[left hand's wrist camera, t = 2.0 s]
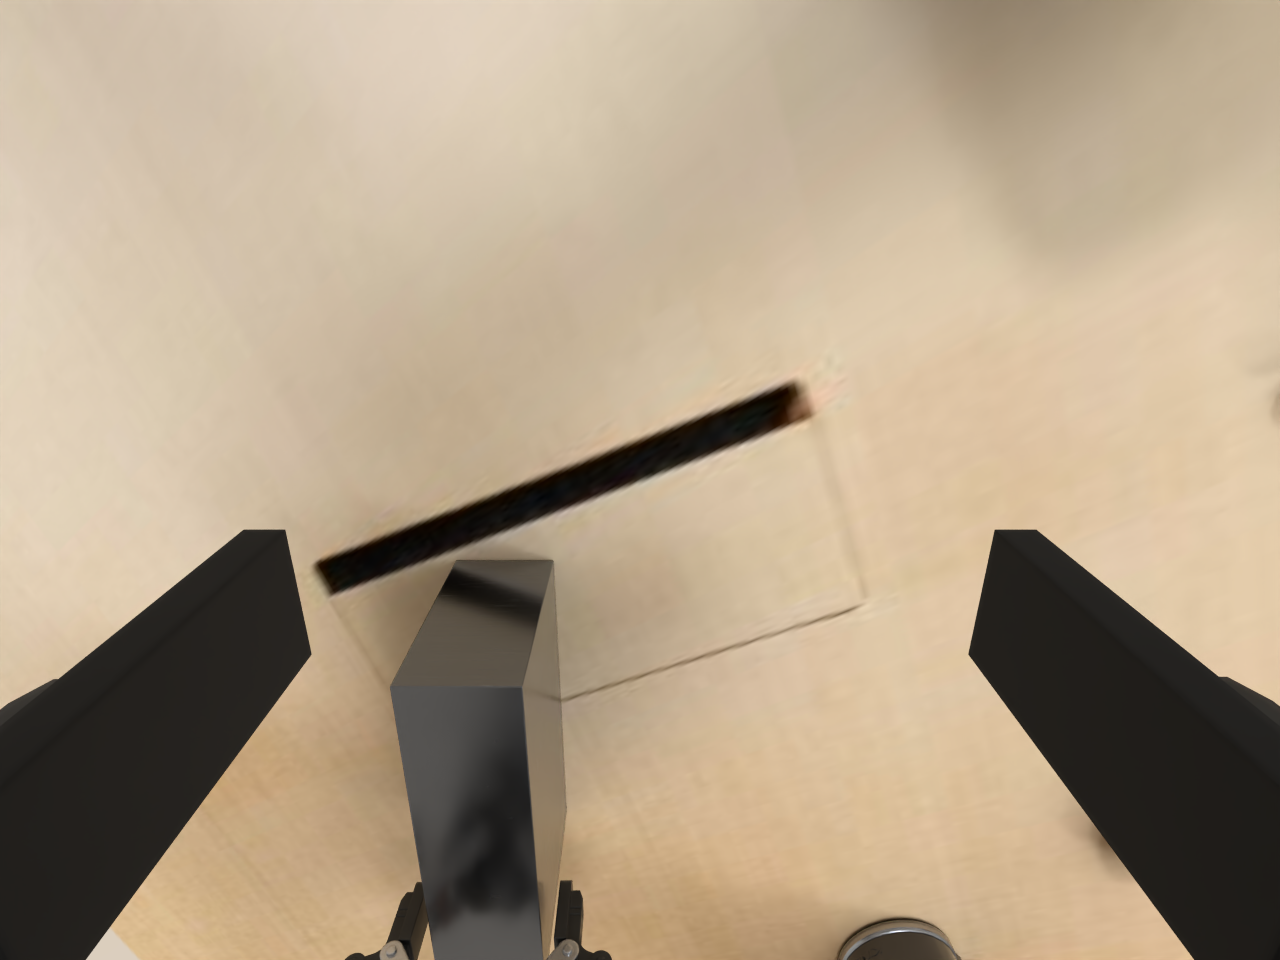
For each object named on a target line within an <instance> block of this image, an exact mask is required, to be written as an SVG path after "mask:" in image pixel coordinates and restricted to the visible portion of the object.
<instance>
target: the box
mask: <svg viewBox="0 0 1280 960" xmlns="http://www.w3.org/2000/svg"><path fill="white" fill-rule="evenodd" d="M390 690H391V696H392V702H393V708H394V714H395V720H396V726H397V733H398V739H399V745H400V751H401V757H402V763H403V769H404V775H405V781H406V788H407V794H408V800H409V806H410V812H411V818H412V824H413V830H414V836H415V843H416V849H417V855H418V861H419V867H420V873H421V879H422V885H423V891H424V898H425V904H426V910H427V916H428V922H429V928H430V934H431V940H432V946H433V953H434V959H435V960H546V959H547V958H548V957H549V951H550V943H551V934H552V926H553V918H554V910H555V902H556V893H557V885H558V877H559V869H560V861H561V852H562V844H563V836H564V828H565V820H566V792H565V773H564V754H563V734H562V715H561V696H560V676H559V657H558V638H557V618H556V599H555V580H554V561H456V562H455V564H454V566H453V567H452V569H451V571H450V573H449V575H448V577H447V579H446V581H445V583H444V585H443V587H442V588H441V590H440V592H439V594H438V596H437V598H436V600H435V602H434V604H433V606H432V608H431V609H430V611H429V613H428V615H427V617H426V619H425V621H424V623H423V625H422V627H421V628H420V630H419V632H418V634H417V636H416V638H415V640H414V642H413V644H412V646H411V648H410V649H409V651H408V653H407V655H406V657H405V659H404V661H403V663H402V665H401V667H400V668H399V670H398V672H397V674H396V676H395V678H394V680H393V682H392V684H391V686H390Z"/></svg>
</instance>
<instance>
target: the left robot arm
mask: <svg viewBox="0 0 1280 960" xmlns="http://www.w3.org/2000/svg"><path fill="white" fill-rule="evenodd" d="M310 656H311V649H310V645H309V640H308V635H307V630H306V626H305V621H304V616H303V611H302V607H301V602H300V597H299V593H298V588H297V583H296V578H295V574H294V569H293V564H292V560H291V555H290V550H289V545H288V541H287V536H286V531H285V530H243V531H242V532H240V533H239V534H238V535H237V536H235V537H234V538H233V539H232V540H230V541H229V542H228V543H227V544H225V545H224V546H223V547H222V548H220V549H219V550H218V551H217V552H216V553H214V554H213V555H212V556H211V557H209V558H208V559H207V560H206V561H204V562H203V563H202V564H201V565H199V566H198V567H197V568H196V569H194V570H193V571H192V572H191V573H189V574H188V575H187V576H186V577H185V578H183V579H182V580H181V581H180V582H178V583H177V584H176V585H175V586H173V587H172V588H171V589H170V590H168V591H167V592H166V593H165V594H163V595H162V596H161V597H160V598H158V599H157V600H156V601H155V602H154V603H152V604H151V605H150V606H149V607H147V608H146V609H145V610H144V611H142V612H141V613H140V614H139V615H137V616H136V617H135V618H134V619H132V620H131V621H130V622H129V623H127V624H126V625H125V626H124V627H122V628H121V629H120V630H119V631H118V632H116V633H115V634H114V635H113V636H111V637H110V638H109V639H108V640H106V641H105V642H104V643H103V644H101V645H100V646H99V647H98V648H96V649H95V650H94V651H93V652H91V653H90V654H89V655H88V656H87V657H85V658H84V659H83V660H82V661H80V662H79V663H78V664H77V665H75V666H74V667H73V668H72V669H70V670H69V671H68V672H67V673H65V674H64V675H63V676H62V677H60V678H59V679H53V680H51V681H50V682H48V683H46V684H44V685H42V686H40V687H38V688H36V689H35V690H33V691H31V692H29V693H27V694H25V695H23V696H21V697H20V698H18V699H16V700H14V701H12V702H10V703H8V704H7V705H6V706H4V707H3V708H2V709H1V710H0V960H86V959H87V957H88V956H89V955H90V953H91V952H92V951H93V949H94V948H95V946H96V945H97V944H98V942H99V941H100V940H101V938H102V937H103V936H104V934H105V933H106V932H107V930H108V929H109V928H110V926H111V925H112V923H113V922H114V921H115V919H116V918H117V917H118V915H119V914H120V913H121V911H122V910H123V909H124V907H125V906H126V905H127V903H128V902H129V901H130V899H131V898H132V896H133V895H134V894H135V892H136V891H137V890H138V888H139V887H140V886H141V884H142V883H143V882H144V880H145V879H146V878H147V876H148V875H149V873H150V872H151V871H152V869H153V868H154V867H155V865H156V864H157V863H158V861H159V860H160V859H161V857H162V856H163V855H164V853H165V852H166V850H167V849H168V848H169V846H170V845H171V844H172V842H173V841H174V840H175V838H176V837H177V836H178V834H179V833H180V832H181V830H182V829H183V827H184V826H185V825H186V823H187V822H188V821H189V819H190V818H191V817H192V815H193V814H194V813H195V811H196V810H197V809H198V807H199V806H200V805H201V803H202V802H203V800H204V799H205V798H206V796H207V795H208V794H209V792H210V791H211V790H212V788H213V787H214V786H215V784H216V783H217V782H218V780H219V779H220V777H221V776H222V775H223V773H224V772H225V771H226V769H227V768H228V767H229V765H230V764H231V763H232V761H233V760H234V759H235V757H236V756H237V754H238V753H239V752H240V750H241V749H242V748H243V746H244V745H245V744H246V742H247V741H248V740H249V738H250V737H251V736H252V734H253V733H254V732H255V730H256V729H257V727H258V726H259V725H260V723H261V722H262V721H263V719H264V718H265V717H266V715H267V714H268V713H269V711H270V710H271V709H272V707H273V706H274V704H275V703H276V702H277V700H278V699H279V698H280V696H281V695H282V694H283V692H284V691H285V690H286V688H287V687H288V686H289V684H290V683H291V681H292V680H293V679H294V677H295V676H296V675H297V673H298V672H299V671H300V669H301V668H302V667H303V665H304V664H305V663H306V661H307V660H308V659H309V657H310ZM969 656H970V657H971V659H972V660H973V661H974V663H975V664H976V665H977V667H978V668H979V669H980V671H981V672H982V673H983V675H984V676H985V677H986V679H987V680H988V681H989V683H990V684H991V686H992V687H993V688H994V690H995V691H996V692H997V694H998V695H999V696H1000V698H1001V699H1002V700H1003V702H1004V703H1005V704H1006V706H1007V707H1008V709H1009V710H1010V711H1011V713H1012V714H1013V715H1014V717H1015V718H1016V719H1017V721H1018V722H1019V723H1020V725H1021V726H1022V727H1023V729H1024V730H1025V732H1026V733H1027V734H1028V736H1029V737H1030V738H1031V740H1032V741H1033V742H1034V744H1035V745H1036V746H1037V748H1038V749H1039V750H1040V752H1041V753H1042V754H1043V756H1044V757H1045V759H1046V760H1047V761H1048V763H1049V764H1050V765H1051V767H1052V768H1053V769H1054V771H1055V772H1056V773H1057V775H1058V776H1059V777H1060V779H1061V780H1062V782H1063V783H1064V784H1065V786H1066V787H1067V788H1068V790H1069V791H1070V792H1071V794H1072V795H1073V796H1074V798H1075V799H1076V800H1077V802H1078V803H1079V805H1080V806H1081V807H1082V809H1083V810H1084V811H1085V813H1086V814H1087V815H1088V817H1089V818H1090V819H1091V821H1092V822H1093V823H1094V825H1095V826H1096V827H1097V829H1098V830H1099V832H1100V833H1101V834H1102V836H1103V837H1104V838H1105V840H1106V841H1107V842H1108V844H1109V845H1110V846H1111V848H1112V849H1113V850H1114V852H1115V853H1116V855H1117V856H1118V857H1119V859H1120V860H1121V861H1122V863H1123V864H1124V865H1125V867H1126V868H1127V869H1128V871H1129V872H1130V873H1131V875H1132V876H1133V878H1134V879H1135V880H1136V882H1137V883H1138V884H1139V886H1140V887H1141V888H1142V890H1143V891H1144V892H1145V894H1146V895H1147V896H1148V898H1149V899H1150V901H1151V902H1152V903H1153V905H1154V906H1155V907H1156V909H1157V910H1158V911H1159V913H1160V914H1161V915H1162V917H1163V918H1164V919H1165V921H1166V922H1167V923H1168V925H1169V926H1170V928H1171V929H1172V930H1173V932H1174V933H1175V934H1176V936H1177V937H1178V938H1179V940H1180V941H1181V942H1182V944H1183V945H1184V946H1185V948H1186V949H1187V951H1188V952H1189V953H1190V955H1191V956H1192V957H1193V959H1194V960H1280V706H1279V705H1277V704H1276V703H1275V702H1273V701H1272V700H1270V699H1268V698H1266V697H1264V696H1262V695H1260V694H1259V693H1257V692H1255V691H1253V690H1251V689H1249V688H1247V687H1245V686H1243V685H1242V684H1240V683H1238V682H1236V681H1234V680H1232V679H1230V678H1228V677H1218V676H1217V675H1216V674H1215V673H1213V672H1212V671H1211V670H1210V669H1208V668H1207V667H1206V666H1205V665H1203V664H1202V663H1201V662H1200V661H1198V660H1197V659H1196V658H1195V657H1193V656H1192V655H1191V654H1190V653H1189V652H1187V651H1186V650H1185V649H1184V648H1182V647H1181V646H1180V645H1179V644H1177V643H1176V642H1175V641H1174V640H1172V639H1171V638H1170V637H1169V636H1167V635H1166V634H1165V633H1164V632H1162V631H1161V630H1160V629H1159V628H1158V627H1156V626H1155V625H1154V624H1153V623H1151V622H1150V621H1149V620H1148V619H1146V618H1145V617H1144V616H1143V615H1141V614H1140V613H1139V612H1138V611H1136V610H1135V609H1134V608H1133V607H1131V606H1130V605H1129V604H1128V603H1126V602H1125V601H1124V600H1123V599H1122V598H1120V597H1119V596H1118V595H1117V594H1115V593H1114V592H1113V591H1112V590H1110V589H1109V588H1108V587H1107V586H1105V585H1104V584H1103V583H1102V582H1100V581H1099V580H1098V579H1097V578H1095V577H1094V576H1093V575H1092V574H1091V573H1089V572H1088V571H1087V570H1086V569H1084V568H1083V567H1082V566H1081V565H1079V564H1078V563H1077V562H1076V561H1074V560H1073V559H1072V558H1071V557H1069V556H1068V555H1067V554H1066V553H1064V552H1063V551H1062V550H1061V549H1060V548H1058V547H1057V546H1056V545H1055V544H1053V543H1052V542H1051V541H1050V540H1048V539H1047V538H1046V537H1045V536H1043V535H1042V534H1041V533H1040V532H1038V531H1037V530H995V531H994V536H993V541H992V545H991V550H990V555H989V560H988V564H987V569H986V574H985V578H984V583H983V588H982V593H981V597H980V602H979V607H978V611H977V616H976V621H975V626H974V630H973V635H972V640H971V645H970V649H969Z"/></svg>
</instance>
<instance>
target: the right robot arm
mask: <svg viewBox="0 0 1280 960" xmlns="http://www.w3.org/2000/svg"><path fill="white" fill-rule="evenodd" d="M427 924H428V916H427V910H426V904H425V898H424V891H423V885H422V882H417V883H416V885H415V888H414V891H413V892H407V893H406V894H405V896H404V897H403V898H402V900H401V902H400V905H399V908H398V911H397V914H396V917H395V920H394V923H393V926H392V929H391V932H390V935H389V938H388V940H387V943H386V944H385V945H384V946H383V948H382V949H381V950H380V951H378V952H376V953H374V954H371V955H368V956H364V955H363V954H361V953H354V954H352V955H350V956H348V957H347V958H346V959H345V960H417V959H418V955H419V952H420V948H421V945H422V941H423V938H424V934H425V931H426V928H427ZM582 929H583V898H582V895H581V892H580V890H578V891H573V884H572V880H562V881H560V888H559V897H558V906H557V915H556V924H555V933H554V946H555V950H554V951H553V952H552V953H551V954H550V955H549V957H548V958H547V959H546V960H612V958H611V956H610V954H609V953H608V952H606V951H602V950H600V951H596V952H595V953H591V952H589V951H586V950H585V949H584V948H583V947H582V946H581V942H582ZM838 960H961V958H960V957H959V956H957V955H956V954H955V952H954V949H953V947H952V944H951V942H950V940H949V939H948V937H947V936H946V935H945V934H944V933H943V932H942V931H940V930H939V929H937V928H936V927H934V926H932V925H929V924H926V923H923V922H919V921H913V920H894V921H887V922H883V923H879V924H876V925H873V926H870V927H868V928H866V929H864V930H862V931H860V932H859V933H857V934H856V935H854V936H853V937H852V938H851V939H850V940H849V941H848V942H847V943H846V944H845V945H844V947H843V948H842V950H841V952H840V955H839V958H838Z"/></svg>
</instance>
